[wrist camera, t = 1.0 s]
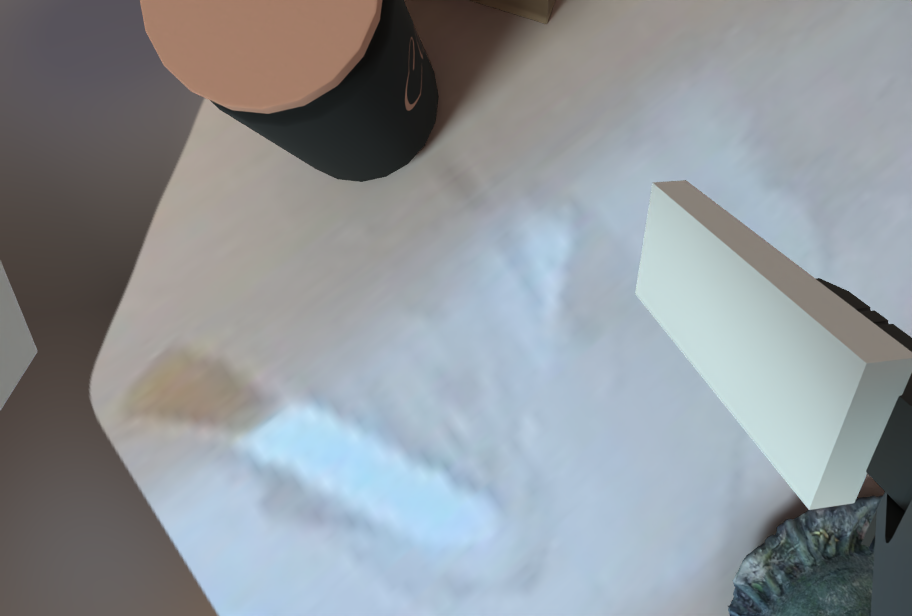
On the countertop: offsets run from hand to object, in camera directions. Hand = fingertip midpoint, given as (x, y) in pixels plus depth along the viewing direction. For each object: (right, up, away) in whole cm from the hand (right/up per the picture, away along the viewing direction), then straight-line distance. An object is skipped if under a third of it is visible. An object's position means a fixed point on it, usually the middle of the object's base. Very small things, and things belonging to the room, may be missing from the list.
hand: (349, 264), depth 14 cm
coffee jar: (-4, +13, +32) cm, 35 cm away
